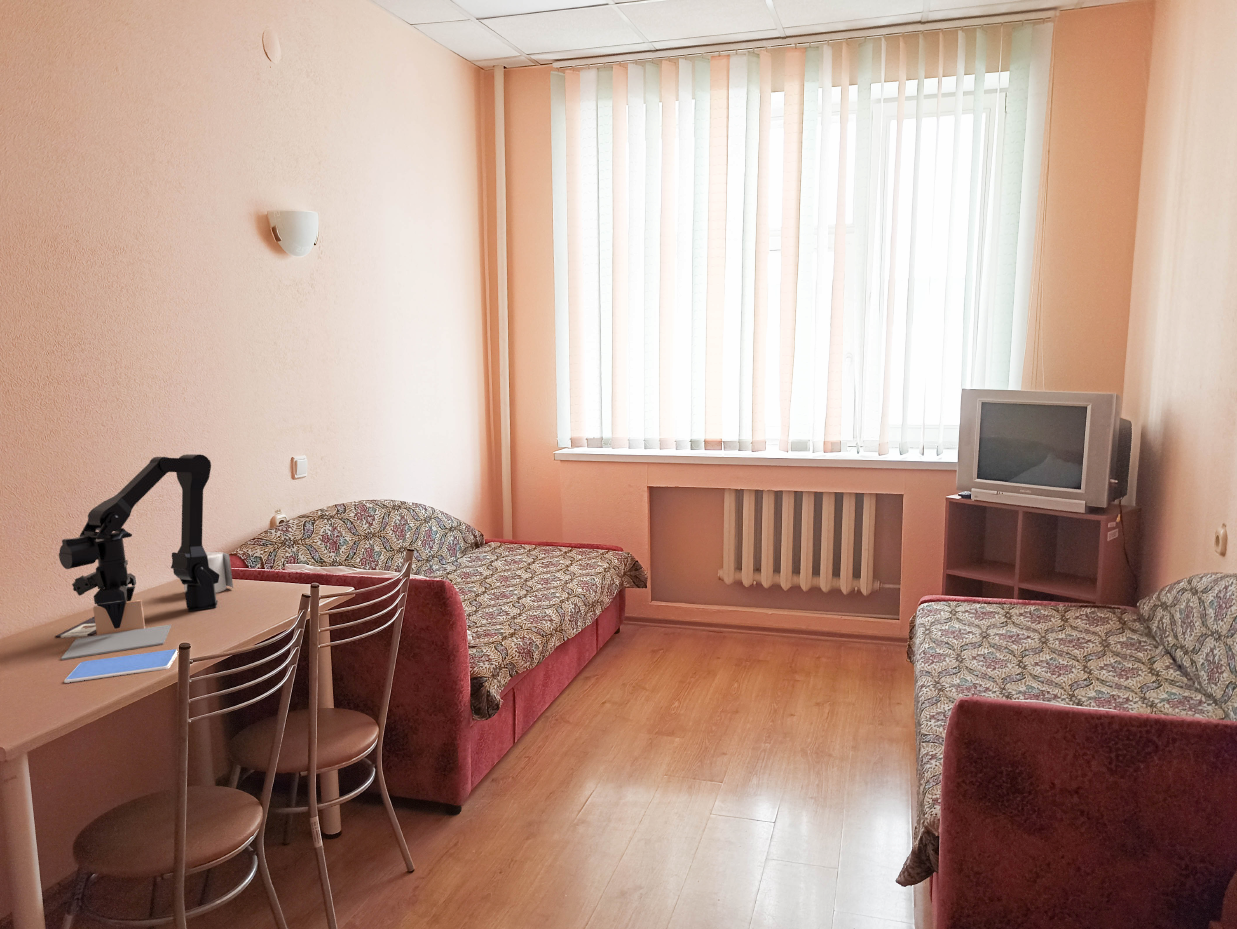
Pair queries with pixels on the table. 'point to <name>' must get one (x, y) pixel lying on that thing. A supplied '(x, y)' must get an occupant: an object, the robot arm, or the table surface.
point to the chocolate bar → (80, 629)
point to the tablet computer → (122, 665)
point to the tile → (130, 620)
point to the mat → (117, 642)
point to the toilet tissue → (220, 570)
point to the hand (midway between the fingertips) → (120, 623)
